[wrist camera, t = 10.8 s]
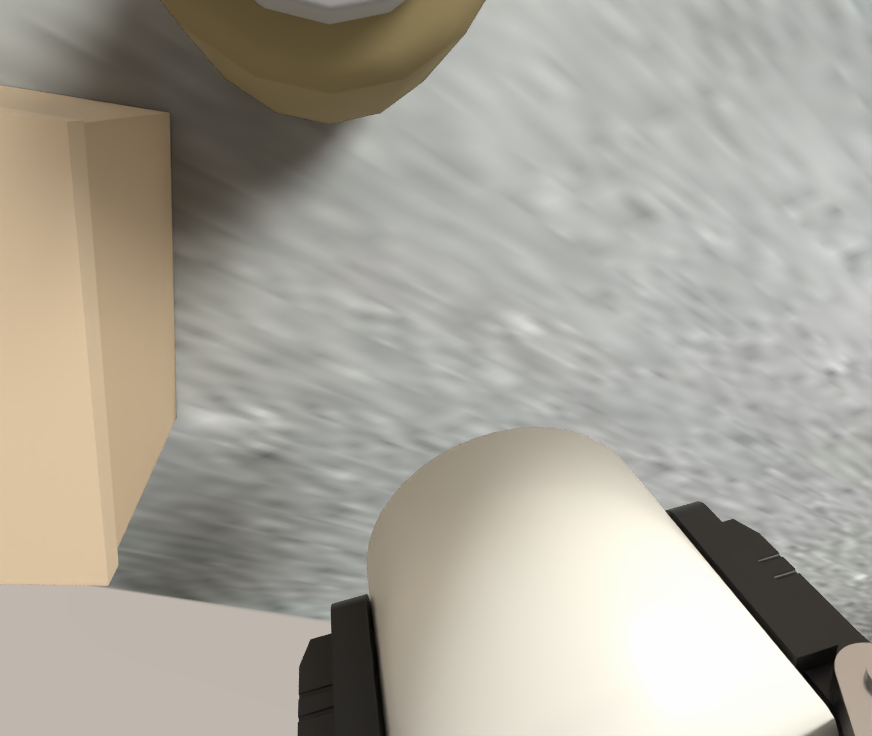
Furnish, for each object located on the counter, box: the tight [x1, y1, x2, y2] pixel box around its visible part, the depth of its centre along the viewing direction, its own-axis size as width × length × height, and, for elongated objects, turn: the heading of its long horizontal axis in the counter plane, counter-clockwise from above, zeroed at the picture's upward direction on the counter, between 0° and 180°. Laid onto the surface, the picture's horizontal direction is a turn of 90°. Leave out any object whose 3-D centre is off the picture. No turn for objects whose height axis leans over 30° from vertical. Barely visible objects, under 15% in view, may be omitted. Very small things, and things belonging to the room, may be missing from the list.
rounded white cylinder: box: [367, 427, 839, 736], centre depth 10 cm, size 6×6×6 cm
